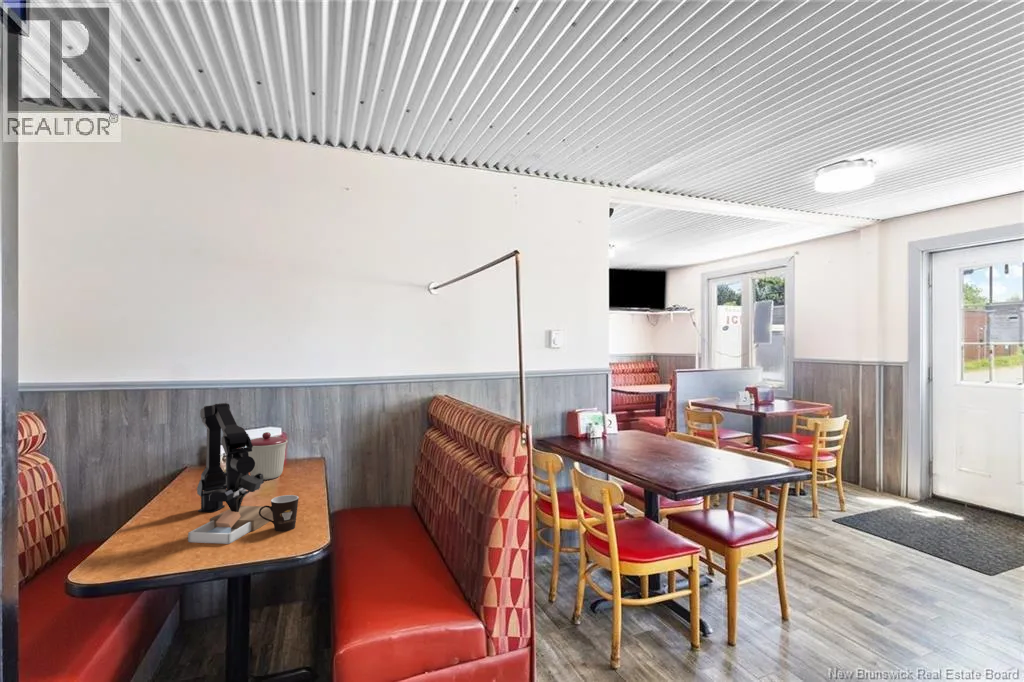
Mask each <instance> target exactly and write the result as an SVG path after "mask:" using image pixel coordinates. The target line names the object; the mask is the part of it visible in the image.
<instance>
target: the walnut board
mask: <svg viewBox="0 0 1024 682" xmlns="http://www.w3.org/2000/svg"><path fill="white" fill-rule="evenodd" d="M261 507H263V505H258V506H256V505H241V506H240V509H239V514H240V516H241V517H240V518H239V519H238V520H237V522H236V523H235V524H234V525H233V526H232V527H231V529H238V528H239V527H241V526H243V525H245V524H246V523H248V522H251V531H252V532H255V531H257V530H258V529H259V528H261V527H263V526H265V525H266V524H268V523H271V522H270V521H267V520H265V519H263V518H262V517H261V516H260V515H259V510H260V508H261ZM225 511H231V509H230V508H228V509H227V510H224V511H222V512H220V513H218V514H216V515H214V516H212V517H210V518H209V522H210V521H212V520H214V528H216V527H218V526H217V524H216V521H217V520H218V519H219V518H220V517H221V516H222V515H223V513H224V512H225ZM261 515H262V516H263V517H265V518H267V519H270V520H273V513H272V511H271V510H270V508H268V507H265V508H263V509H262V510H261ZM251 531H250V532H251Z"/></svg>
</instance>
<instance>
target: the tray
mask: <svg viewBox="0 0 1024 682" xmlns="http://www.w3.org/2000/svg"><path fill="white" fill-rule="evenodd" d="M212 529H214V520H212V521H210V520H209V521H208V522H206V523H205V524H202V525H200V526H198V527H196V528H195V529H192V530H190V531H188V532H187V541H188V543H202V544H225V545H230V544H232V543H234V542H235V541H237V540H239V539H240V538H242V537H244V536H245V535H246V534H248V533H250V532H251V522H248V523H246V524H245V525H243V526H241V527H239V528H238V529H231V533H207V532H208V531H210V530H212Z"/></svg>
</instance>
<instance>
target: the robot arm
mask: <svg viewBox="0 0 1024 682" xmlns="http://www.w3.org/2000/svg"><path fill="white" fill-rule="evenodd" d="M199 414H200V416H199V417H200V418H201V422H202V424H203V425H204V427H205V428H206V459H205V460H206V461H205V462H206V463H205V465H206V467H205V468H204V470H203V471H202V473H201V474H200V480H199V481H198V484H197V488H196V491H197V493H196V494H197V495H198V496H200V508H199V509H198V510H197V511H198V512H204V513H205V512H206V513H209V512H210V513H214V512H217V511H218V510H221V509H222V508H225V504H224V503H226V504H227V506H228V507H229V508H228V509H231V511H233V512H239V509H240V506H242V502H243V500H244V497H246V495H248V494H249V493H254V492H256V491H258V490H260V488H261V485H262V484H264V483H265V480H263V474H261V473H258V474H256V475H255V476H254V475H252V476H251V475H250V472H251V471H252V470H253V469H254V466H255V461H254V459H253V458H252V457H250V456H249V453H248V452H252V447H253V446H252V443H251V440H252V439H251V437H250V435H249V433H247V431H246V429H244V428H243V427H242V426H240V425H238V423H237V421H236V419H235V417H234V416H233V414H232V411H231V406H230V404H229V403H228V402H221V403H214V404H212V405H204V406H203V407H202V408H201V409H200V413H199ZM221 435H222V436H221ZM221 446H222V447H221ZM222 448H223V449H222ZM221 449H222V450H223V451H224V453H225V471H224V469H222V467H221V458H222V457H221V456H222V455H221Z"/></svg>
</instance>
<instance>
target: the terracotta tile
mask: <svg viewBox="0 0 1024 682" xmlns="http://www.w3.org/2000/svg"><path fill="white" fill-rule="evenodd" d="M224 511H225V512H224ZM224 511H223V512H224V513H223V515H222V516H221V517H220V518H219V519H218V520H217V521H216V524H217V526H218V527H232V526H233V525H234V524H235V523H236V522H237V520H238V519H239V518H240V517H241V516H240V514H239V512H233V511H226V510H224Z"/></svg>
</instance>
